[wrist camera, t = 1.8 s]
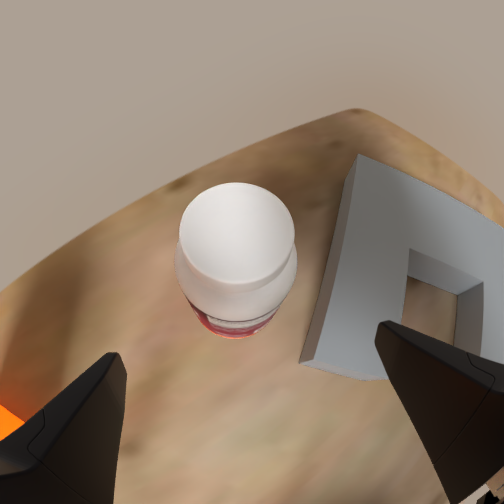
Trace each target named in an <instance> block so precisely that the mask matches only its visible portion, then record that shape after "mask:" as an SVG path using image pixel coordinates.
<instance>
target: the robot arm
mask: <svg viewBox="0 0 504 504" xmlns="http://www.w3.org/2000/svg"><path fill="white" fill-rule="evenodd" d="M374 343H375V347H376V350H377V352H378V354H379V357H380V359H381V361H382V364H383V366H384V368H385V371H386V373H387V376H388V378H389V380H390V382H391V384H392V385H393V387H394V389H395V391H396V393H397V395H398V396H399V398H400V400H401V402H402V404H403V406H404V408H405V410H406V412H407V413H408V415H409V417H410V419H411V421H412V423H413V425H414V427H415V429H416V431H417V433H418V435H419V437H420V439H421V441H422V443H423V445H424V447H425V449H426V451H427V453H428V455H429V457H430V460H431V462H432V464H433V466H434V468H435V470H436V473H437V475H438V477H439V479H440V481H441V484H442V486H443V488H444V490H445V493H446V495H447V497H448V500H449V502H450V504H459V503H460V502H461V501H463V500H464V499H466V498H467V497H468V496H470V495H471V494H472V493H474V492H475V491H476V490H478V489H479V488H480V487H481V486H483V485H484V484H485V483H486V484H487V486H488V488H489V489H490V490H489V491H488V492H487V493H486V494H484V495H483V496H482V497H481V498H480V499H478V500H477V503H476V504H504V364H501V363H498V362H495V361H492V360H489V359H486V358H483V357H480V356H477V355H475V354H472V353H470V352H466V351H465V350H462V349H460V348H457V347H455V346H452V345H450V344H447V343H445V342H442V341H440V340H437V339H435V338H432V337H430V336H427V335H425V334H422V333H420V332H418V331H415V330H413V329H410V328H408V327H405V326H403V325H400V324H398V323H396V322H393V321H391V320H386V321H382V322H380V323H379V324H378V327H377V331H376V336H375V340H374ZM126 381H127V373H126V369H125V367H124V364H123V362H122V359H121V357H120V355H119V353H117V352H108V353H106V354H105V355H103V356H102V357H101V358H100V359H99V360H98V361H96V362H95V363H94V364H93V365H92V366H91V367H89V368H88V369H87V370H86V371H85V372H84V373H82V374H81V375H80V376H79V377H78V378H77V379H75V380H74V381H73V382H72V383H71V384H70V385H68V386H67V387H66V388H65V389H64V390H63V391H61V392H60V393H59V394H58V395H57V396H56V397H55V398H53V399H52V400H51V401H50V402H49V403H48V404H46V405H45V406H44V407H43V408H42V409H41V410H40V411H38V412H37V413H36V414H35V415H34V416H33V417H31V418H30V419H29V420H28V421H27V422H25V423H24V424H23V425H21V426H20V427H19V428H17V429H16V430H15V431H13V432H12V433H10V434H9V435H8V436H6V437H5V438H3V439H2V440H1V441H0V504H113V501H114V488H115V478H116V469H117V460H118V453H119V445H120V438H121V432H122V425H123V419H124V411H125V395H126Z"/></svg>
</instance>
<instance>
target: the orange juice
mask: <svg viewBox="0 0 504 504" xmlns="http://www.w3.org/2000/svg"><path fill="white" fill-rule="evenodd" d="M24 423H25V422H23V421H22V420H20V419H19V418H17V417H16V416H15V415H13V414H12V413H10V412H9V411H8V410H6V409H5V408H4V407H2V406H1V405H0V441H1V440H2V439H3V438H5V437H6V436H8V435H9V434H10V433H12V432H13V431H15V430H16V429H17V428H19V427H20V426H21V425H23V424H24Z"/></svg>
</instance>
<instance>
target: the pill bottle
mask: <svg viewBox="0 0 504 504" xmlns="http://www.w3.org/2000/svg"><path fill="white" fill-rule="evenodd" d="M179 237H180V238H179V240H178V243H177V246H176V250H175V257H174V265H175V272H176V276H177V279H178V282H179V285H180V287H181V289H182V291H183V293H184V294H185V296H186V298H187V300H188V301H189V303H190V305H191V307H192V308H193V310H194V312H195V313H196V315H197V317H198V319H199V320H200V322H201V323H202V324H203V325H204V326H205V327H206V328H207V329H208V330H210V331H211V332H213V333H214V334H216V335H219V336H221V337H225V338H230V339H240V338H245V337H249V336H252V335H254V334H256V333H257V332H259V331H260V330H262V329H263V328H264V327H265V326H266V325H267V324H268V323H269V322H270V320H271V319H272V317H273V316H274V314H275V313H276V311H277V310H278V308H279V307H280V305H281V303H282V302H283V300H284V299H285V298H286V296H287V294H288V293H289V291H290V289H291V287H292V285H293V282H294V280H295V276H296V272H297V252H296V247H295V244H294V237H295V230H294V224H293V220H292V217H291V214H290V213H289V211H288V209H287V207H286V206H285V205H284V204H283V202H282V201H281V200H280V199H279V198H278V197H276V196H275V195H274V194H272V193H271V192H269V191H268V190H266V189H264V188H261V187H259V186H256V185H252V184H247V183H225V184H221V185H217V186H214V187H211V188H209V189H207V190H205V191H204V192H202V193H200V194H199V195H198V196H197V197H196V198H194V199H193V201H192V202H191V203H190V204H189V205H188V207H187V208H186V210H185V212H184V214H183V216H182V219H181V223H180V229H179Z"/></svg>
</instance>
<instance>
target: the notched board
mask: <svg viewBox="0 0 504 504" xmlns="http://www.w3.org/2000/svg"><path fill="white" fill-rule="evenodd" d="M407 276H410V277H412V278H415V279H417V280H420V281H423V282H425V283H428V284H430V285H433V286H435V287H438V288H440V289H443V290H445V291H448V292H450V293H453V294H455V295H458V299H457V316H456V328H455V337H454V346H455V347H457V348H460V349H462V350H465V351H466V352H470V353H472V354H475V355H477V356H480V357H483V358H486V359H489V360H492V361H495V362H498V363H501V364H504V228H502V227H501V226H499V225H498V224H496V223H495V222H493V221H492V220H490V219H488V218H487V217H485V216H484V215H482V214H480V213H479V212H477V211H475V210H474V209H472V208H470V207H469V206H467V205H465V204H463V203H462V202H460V201H458V200H456V199H454V198H453V197H451V196H449V195H447V194H445V193H443V192H441V191H440V190H438V189H436V188H434V187H432V186H430V185H428V184H426V183H424V182H422V181H420V180H418V179H416V178H414V177H411V176H409V175H407V174H405V173H403V172H401V171H399V170H396V169H394V168H392V167H390V166H387V165H385V164H383V163H380V162H378V161H376V160H373V159H371V158H368V157H366V156H363V155H361V154H358V155H357V157H356V159H355V161H354V163H353V165H352V167H351V169H350V171H349V173H348V175H347V177H346V179H345V182H344V187H343V192H342V197H341V202H340V207H339V212H338V217H337V222H336V226H335V231H334V235H333V240H332V244H331V248H330V253H329V257H328V261H327V265H326V269H325V273H324V277H323V281H322V285H321V288H320V292H319V296H318V300H317V303H316V307H315V310H314V314H313V318H312V321H311V324H310V328H309V331H308V335H307V338H306V341H305V344H304V348H303V351H302V354H301V357H300V360H299V364H303V365H306V366H310V367H313V368H317V369H320V370H324V371H327V372H331V373H335V374H339V375H343V376H346V377H350V378H355V379H359V380H363V381H369V380H385V379H389V378H388V376H387V373H386V371H385V368H384V366H383V364H382V361H381V359H380V357H379V354H378V352H377V350H376V347H375V343H374V340H375V336H376V331H377V327H378V324H379V323H380V322H382V321H386V320H391V321H393V322H396V323H398V324H400V325H401V320H402V314H403V307H404V299H405V291H406V282H407Z"/></svg>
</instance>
